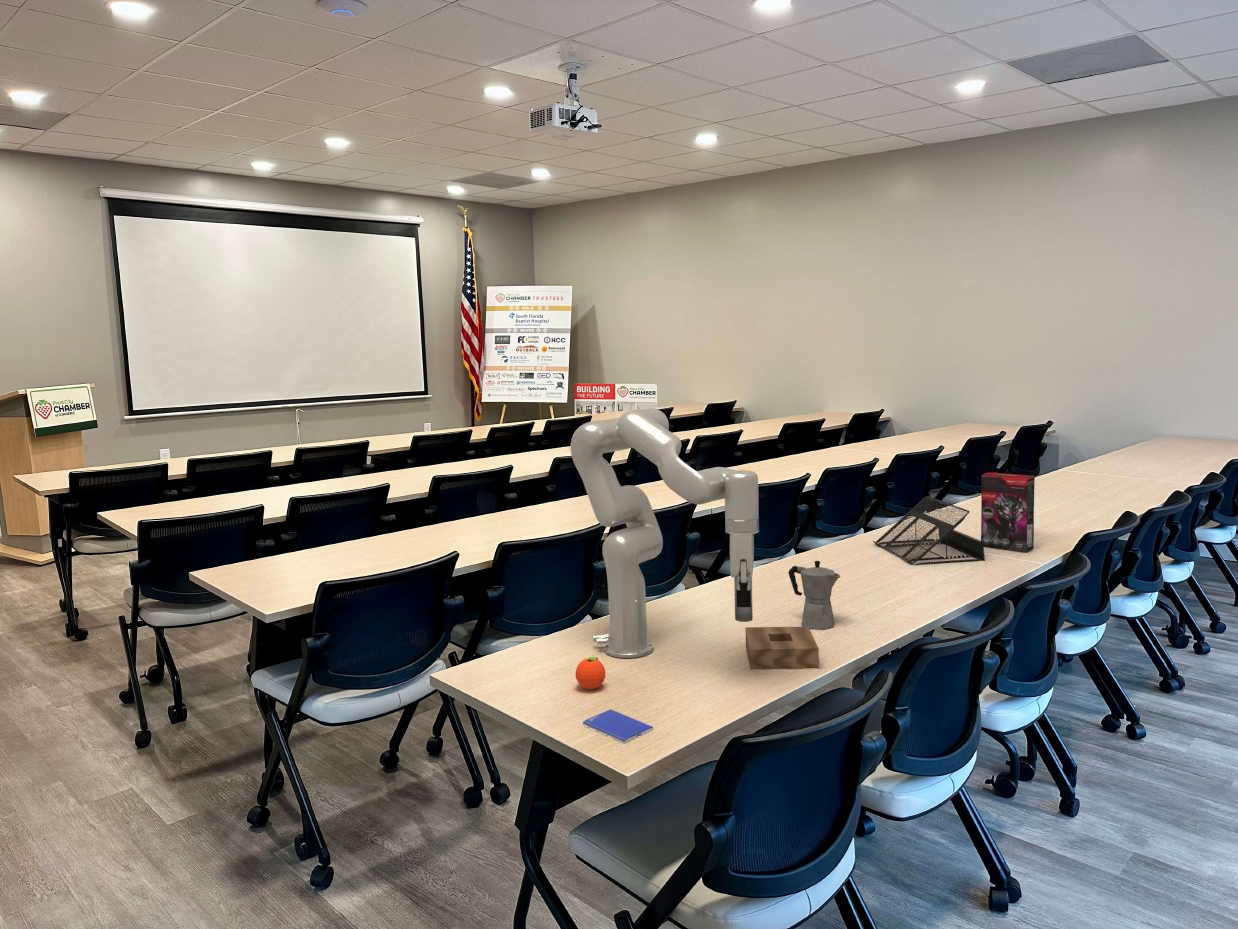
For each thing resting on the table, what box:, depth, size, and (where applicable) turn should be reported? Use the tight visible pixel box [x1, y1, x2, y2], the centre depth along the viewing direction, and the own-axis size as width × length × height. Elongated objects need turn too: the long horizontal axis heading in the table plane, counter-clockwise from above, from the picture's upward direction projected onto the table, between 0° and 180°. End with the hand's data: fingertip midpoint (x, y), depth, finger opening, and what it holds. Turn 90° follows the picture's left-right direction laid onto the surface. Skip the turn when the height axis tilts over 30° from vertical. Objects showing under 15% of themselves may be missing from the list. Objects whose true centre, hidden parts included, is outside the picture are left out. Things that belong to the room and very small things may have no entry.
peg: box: [733, 566, 754, 623], centre depth 191 cm, size 4×4×12 cm
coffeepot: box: [788, 560, 841, 631], centre depth 229 cm, size 15×9×18 cm, turn 49°
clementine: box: [574, 656, 606, 690], centre depth 192 cm, size 8×7×7 cm
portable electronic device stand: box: [872, 495, 986, 566], centre depth 303 cm, size 33×28×18 cm
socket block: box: [744, 626, 820, 670], centre depth 206 cm, size 16×16×5 cm
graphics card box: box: [980, 472, 1036, 553], centre depth 304 cm, size 17×7×27 cm, turn 43°
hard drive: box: [582, 709, 654, 745], centre depth 170 cm, size 2×8×12 cm
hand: (743, 602), depth 191 cm, fingers closed on peg, 4 cm apart
